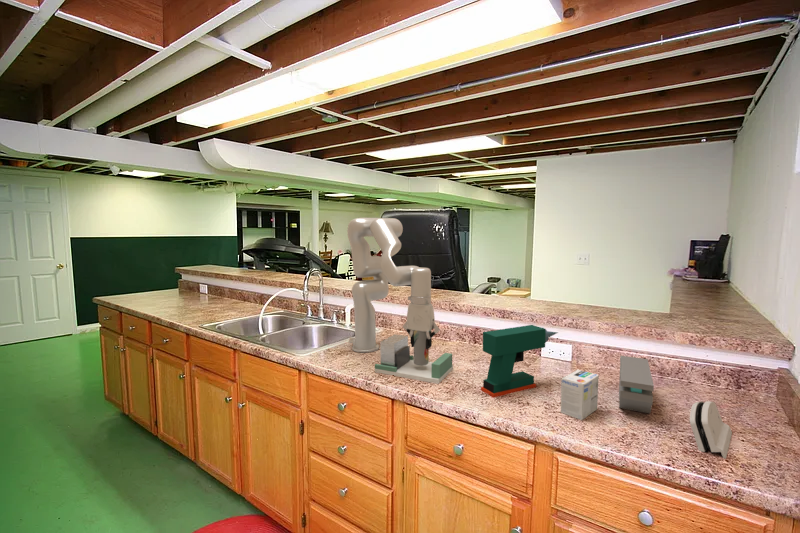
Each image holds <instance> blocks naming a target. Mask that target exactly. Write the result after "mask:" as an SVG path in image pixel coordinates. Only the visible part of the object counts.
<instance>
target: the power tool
mask: <svg viewBox="0 0 800 533" xmlns="http://www.w3.org/2000/svg"><path fill="white" fill-rule="evenodd" d="M556 334H559V332H557V331H551V330H550V331H549V330H547V329H546V328H545V327H541V326H537V325H534V324H527V325H522V326H521V325H520V326H515V327H509V328H503V329H501V328H500V329H495V330H487V331H482V352H484V353H487V354H489V355H491V358H490V362H489V366H488V372H487V375H486V376H487V377H486V379H483V380H482V381H483V382H482V383H483V386H481V387H480V391H481V392H484V393H485V394H486V395H488V396H490V397H491V398H497V397H503V396H506V395H510V394H515V393H518V392H522V391H526V390H531V389H534V388H537V384H536V383H535V376H534V375H532V374H530V373H527V372H525V371H523V370H522V371H518V372H514V367H515V363H520V362H524V357H525V356H524V354H525V352H527V351H532V350H538V349H544V348H546V343H547V342H548V341H549V339H550V338H551V337H552V336H554V335H556Z"/></svg>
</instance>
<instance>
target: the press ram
mask: <svg viewBox="0 0 800 533" xmlns="http://www.w3.org/2000/svg"><path fill="white" fill-rule="evenodd" d="M379 343H380V344H379V350H380V364H381V365H386V366H392V367H397V370H398V369H399V368H400V367H402V366H403V365H405V364H406V363H407V362H409V361H410V355H411V353H410V350H411V348H410V346H409V337H408V335H402V334H397V333H395V334H392V335H390V336H388V337H387V338H386V339H385V338H384V339H383V340H382V341H380V342H379Z"/></svg>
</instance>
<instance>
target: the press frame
mask: <svg viewBox="0 0 800 533" xmlns="http://www.w3.org/2000/svg"><path fill="white" fill-rule="evenodd" d="M453 370H454V365H453V353H451V352H450V353H449V352H444V353H442V354H441V356H439V357H437V358H436V360H434V361H428V364H427V365H423V366H420V365H416V364H414V355H411V354H410V361H409V362H407V363H406V364H405V365H403V366H402V367H400V368H399V369H398V370H397V367H392V366H386V365H381V363H375V364H374V373H377V374H381V373H382V375H387V376H392V375H394V376H393V377H398V378H403V379H408V380H409V379H410V380H414V379H415V380H414V381H421V382H425V383H431V384H432V383H433V384H437V385H439V384H440V383H441V382H442V381H443V380H444V379H445V378H446V377H447V376H448V375H449V374H450V373H451V372H452V371H453Z"/></svg>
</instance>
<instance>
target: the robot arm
mask: <svg viewBox="0 0 800 533" xmlns="http://www.w3.org/2000/svg"><path fill="white" fill-rule="evenodd" d="M403 229H404V228H403V224H402V222H401V221H400V220H399V219H397V218H395V217H394V218H392V217H390V218H389V217H357V218H353V219H351V220H350V221H349V223H348V225H347V230H346V231H347V238H348V242H349V244H350V249H351V259H352V260H351V261H352V270H353V274H354V275H355V277H357V278H373V279H367V280H359V281H357V282H355V283H354V284H353V285H352V287H351V295H352V299H353V308H354V310H353V311H354V337H352V336H351V337H349V339H348V343H349V344H352V346H351V350H352V351H354V352H356V353H372V352H376V351H378V350H380V344H378V343H377V340H376V338H377V337H376V336H377V333H376V332H377V331H376V330H377V329H376V328H377V327H376V309H375V307H374V305H373V303H372V301H377V300H383V299H386V298H387V297H388V295H389V289H390V288H389V287H390V286H389V285H391V286H393V287H403V286H410V296H407V300H409V301H410V303H408V307H407V311H406V312H407V314H406V321H405V323H403V325H402V328H403V329H404V330H405V331H406V333H407V334H408V335H409V337H410V345H411V348H414V331H416V330H418V331H422V332H426V335H427V339H426V349H429V350H430V349H431V347H432V344H433V343H432V342H433V341H432V338H433V337H434V336H435V335H436V334H438V333H439V332H440V331H441V328H440V327H439V326H438V325H437V323H436V320H435V319H436V318H435V311H434V305H433V303H432V271H431V268H429V267H419V266H417V265H401V266H400V265H399V266H397V265H396V264H395V263H394V261H393V260H392V259H393V258H392V257H393V256H395V255H396V254H397V253H399V251H401V248H402V242H401V240H400V239H399V237H401V236H402V233H403V231H404V230H403ZM366 237H367V238H368V237H369V238H371V237H372V238H374V240H375V242H376V243H377V245H378V247H379V249H380V250H381V252H382V254H381V256H379V255H374V256H373V255H372V254H371V246H370V244H369V242H368V240H367V239H366ZM432 330H433V331H432Z"/></svg>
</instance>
